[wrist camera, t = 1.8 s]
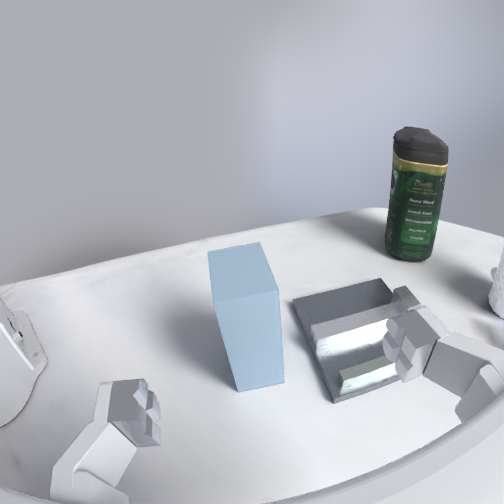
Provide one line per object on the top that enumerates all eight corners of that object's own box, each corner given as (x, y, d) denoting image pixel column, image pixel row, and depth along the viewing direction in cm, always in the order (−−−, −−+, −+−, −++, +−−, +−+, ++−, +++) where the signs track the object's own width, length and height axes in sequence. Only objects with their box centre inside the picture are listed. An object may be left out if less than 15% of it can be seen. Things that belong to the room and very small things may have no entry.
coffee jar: (434, 266, 38) (456, 141, 28) (385, 261, 41) (397, 133, 30) (425, 233, 45) (439, 127, 35) (383, 228, 48) (390, 121, 38)
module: (238, 392, 26) (213, 302, 20) (228, 339, 32) (207, 248, 26) (284, 382, 27) (278, 289, 20) (268, 331, 33) (258, 238, 26)
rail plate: (333, 403, 24) (339, 381, 22) (293, 305, 36) (292, 279, 33) (436, 362, 25) (449, 338, 23) (379, 283, 37) (383, 258, 35)
